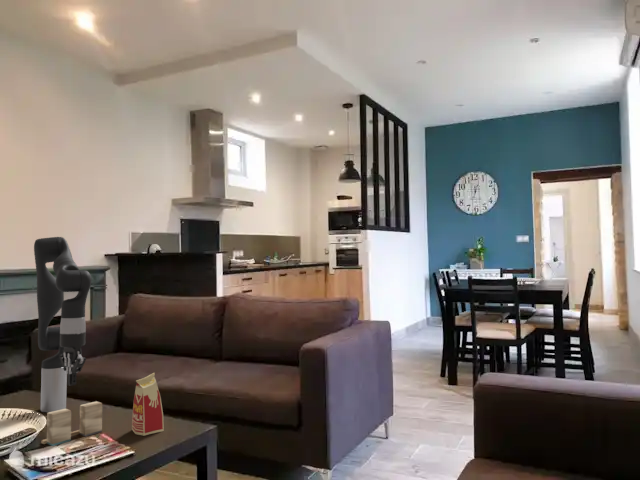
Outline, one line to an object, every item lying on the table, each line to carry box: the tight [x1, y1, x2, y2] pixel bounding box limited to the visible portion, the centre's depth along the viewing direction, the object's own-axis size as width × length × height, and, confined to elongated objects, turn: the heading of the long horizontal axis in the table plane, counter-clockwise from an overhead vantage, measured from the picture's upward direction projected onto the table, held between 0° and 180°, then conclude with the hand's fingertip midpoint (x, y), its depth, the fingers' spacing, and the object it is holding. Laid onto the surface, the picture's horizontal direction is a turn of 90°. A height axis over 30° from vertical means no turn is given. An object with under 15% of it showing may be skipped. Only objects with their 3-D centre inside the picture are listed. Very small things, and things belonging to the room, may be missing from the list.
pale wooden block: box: [78, 400, 103, 437], centre depth 176 cm, size 4×6×10 cm, turn 143°
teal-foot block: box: [46, 408, 72, 447], centre depth 167 cm, size 4×6×10 cm, turn 143°
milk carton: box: [131, 372, 165, 437], centre depth 178 cm, size 9×9×20 cm
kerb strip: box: [40, 429, 80, 445], centre depth 173 cm, size 2×19×1 cm, turn 143°
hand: (71, 385), depth 163 cm, fingers closed
